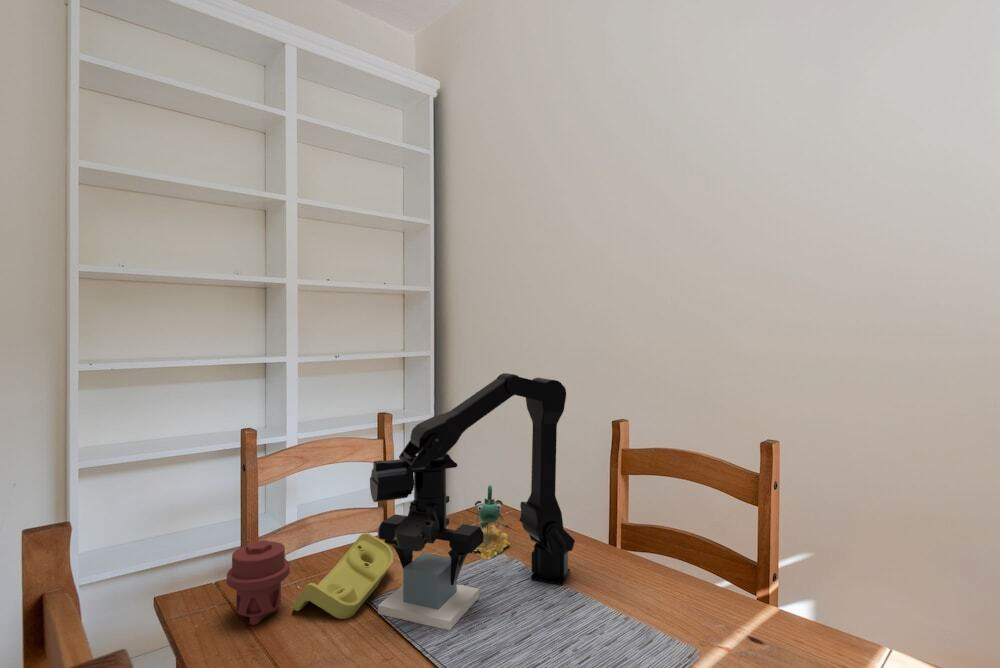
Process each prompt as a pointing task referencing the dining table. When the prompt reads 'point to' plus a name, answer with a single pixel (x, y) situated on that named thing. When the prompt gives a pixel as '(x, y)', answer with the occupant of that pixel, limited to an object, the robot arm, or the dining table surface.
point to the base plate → (430, 616)
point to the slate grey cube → (428, 581)
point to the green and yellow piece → (491, 528)
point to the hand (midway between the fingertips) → (430, 580)
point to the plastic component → (350, 578)
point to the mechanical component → (258, 578)
